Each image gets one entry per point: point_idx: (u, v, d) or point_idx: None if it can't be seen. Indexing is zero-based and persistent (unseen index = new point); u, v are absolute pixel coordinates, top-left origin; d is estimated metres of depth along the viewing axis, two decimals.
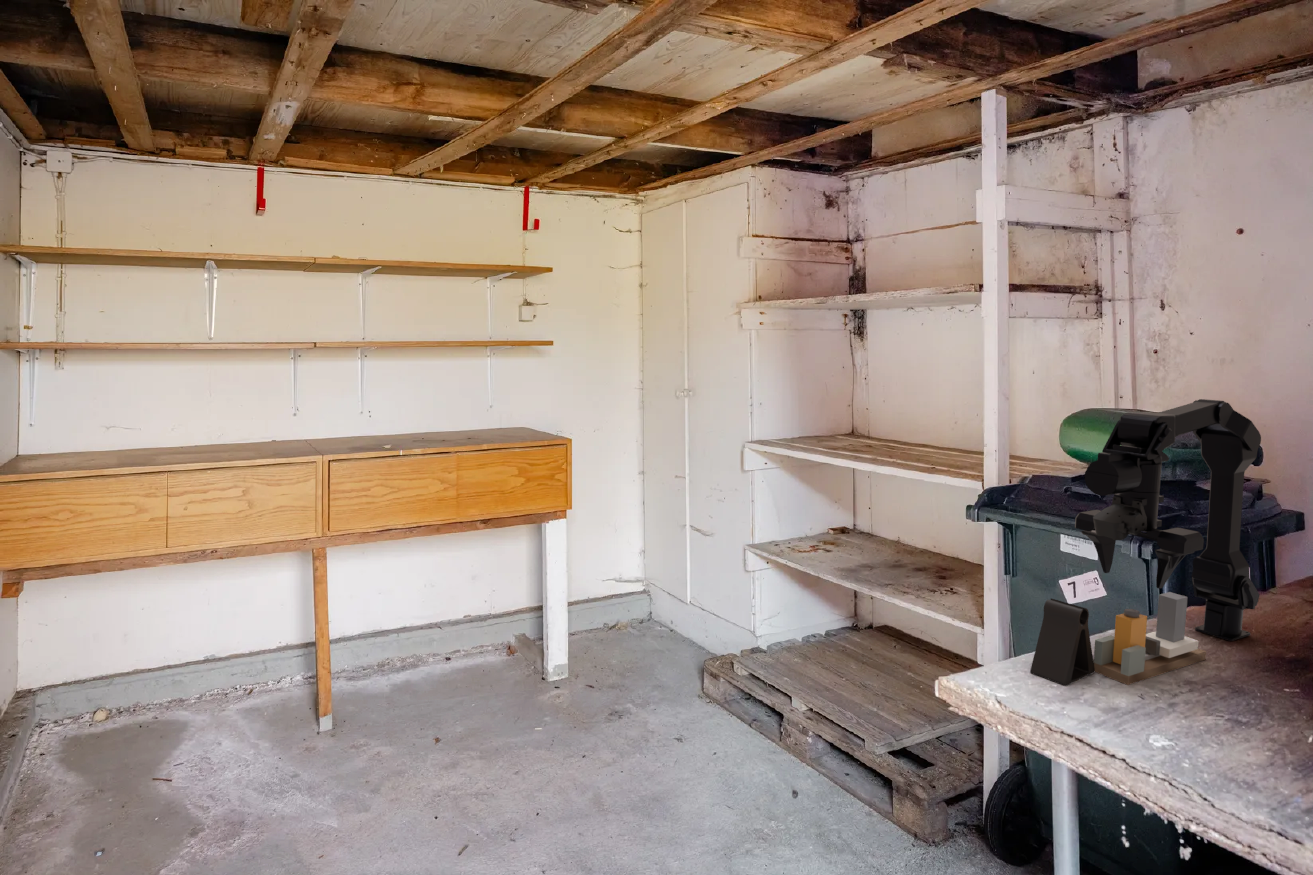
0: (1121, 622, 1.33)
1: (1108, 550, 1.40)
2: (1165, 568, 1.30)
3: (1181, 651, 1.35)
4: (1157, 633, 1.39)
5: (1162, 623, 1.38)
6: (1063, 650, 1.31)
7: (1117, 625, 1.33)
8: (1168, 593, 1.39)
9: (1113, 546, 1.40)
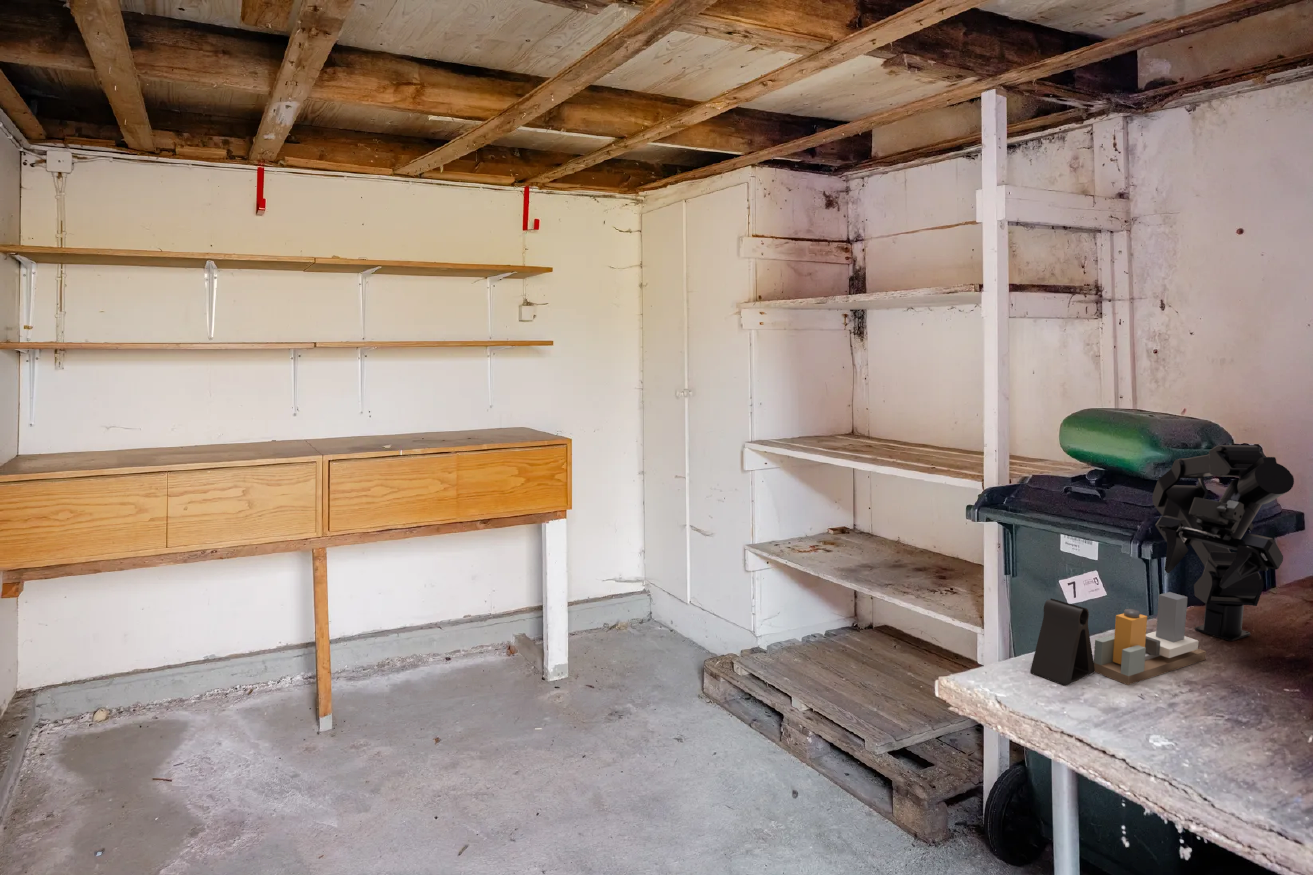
0: (1121, 622, 1.33)
1: (1177, 555, 1.45)
2: (1238, 567, 1.35)
3: (1181, 651, 1.35)
4: (1157, 633, 1.39)
5: (1162, 623, 1.38)
6: (1063, 650, 1.31)
7: (1117, 625, 1.33)
8: (1168, 593, 1.39)
9: (1181, 558, 1.46)
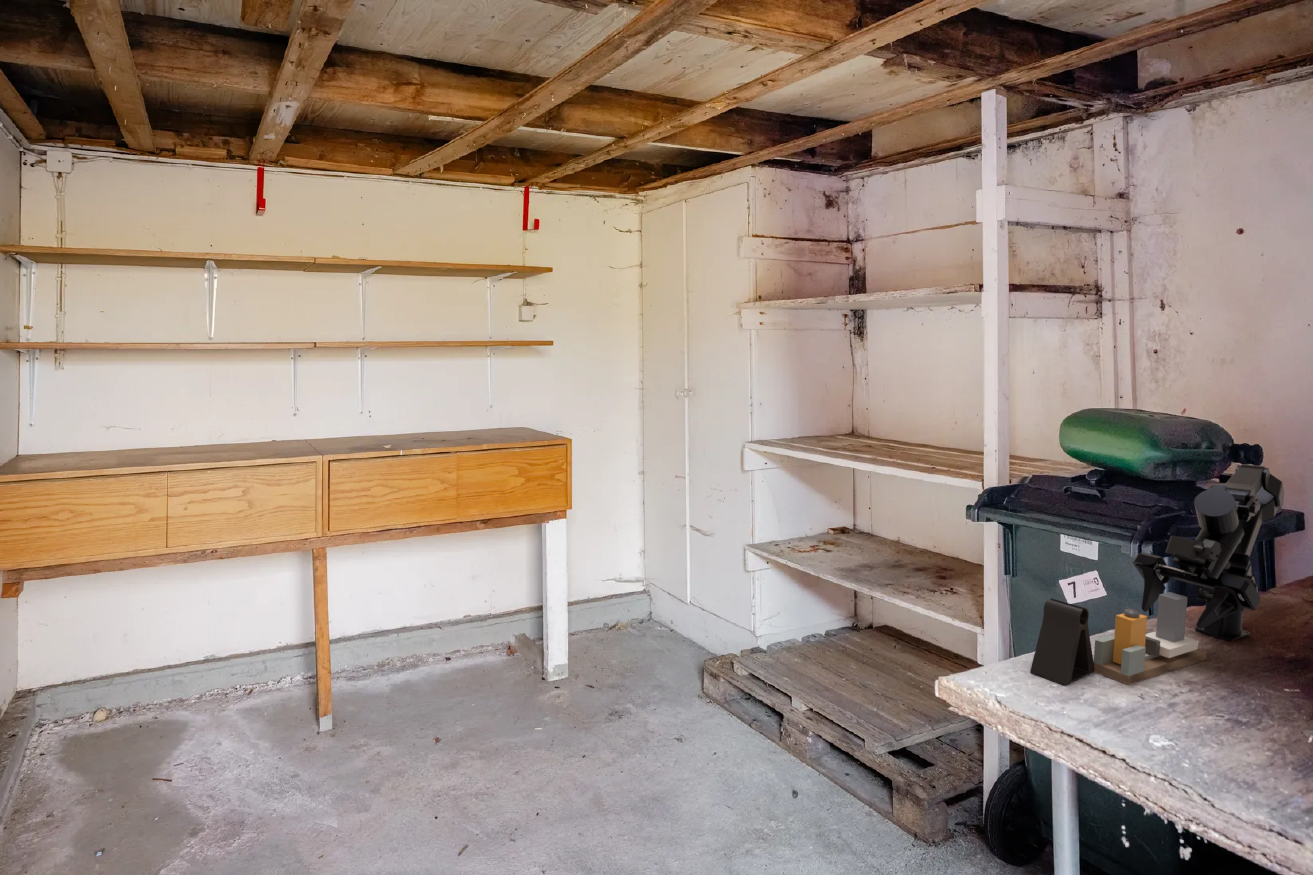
0: (1121, 622, 1.33)
1: (1154, 593, 1.43)
2: (1215, 607, 1.33)
3: (1181, 651, 1.35)
4: (1157, 633, 1.39)
5: (1162, 623, 1.38)
6: (1063, 650, 1.31)
7: (1117, 625, 1.33)
8: (1168, 593, 1.39)
9: (1158, 596, 1.44)
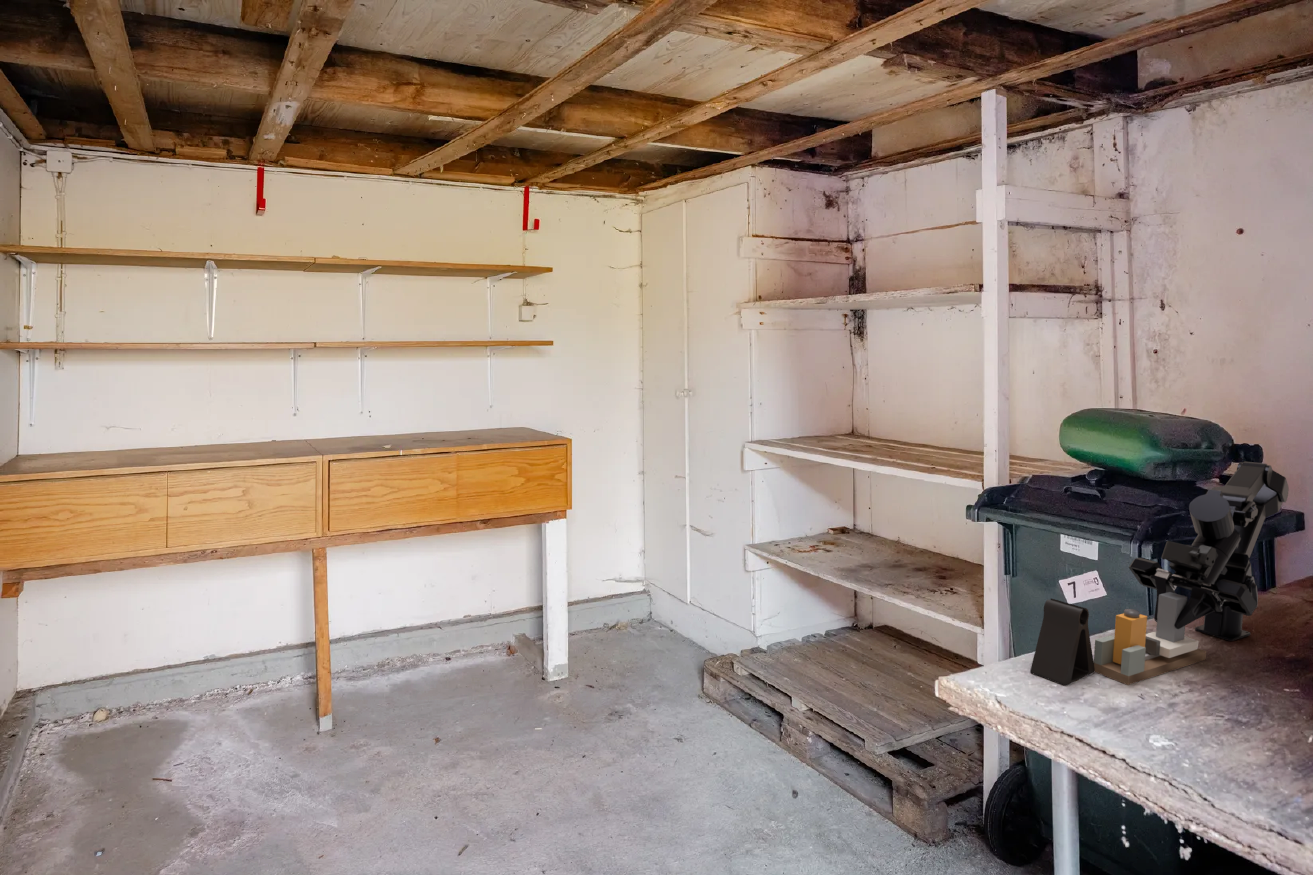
0: (1121, 622, 1.33)
1: None
2: (1192, 608, 1.35)
3: (1181, 651, 1.35)
4: (1157, 633, 1.39)
5: (1162, 623, 1.38)
6: (1063, 650, 1.31)
7: (1117, 625, 1.33)
8: (1168, 593, 1.39)
9: None
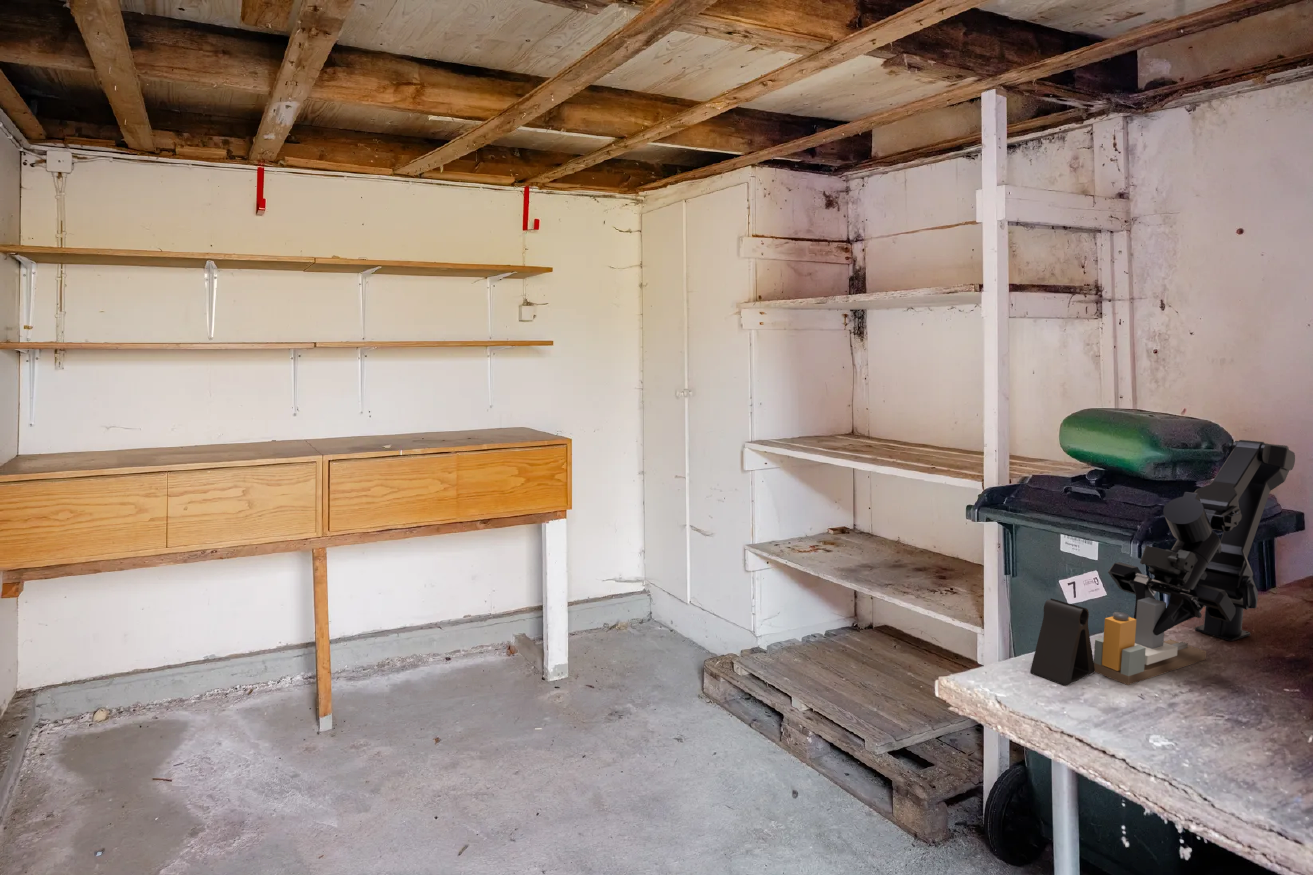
0: (1110, 625, 1.31)
1: None
2: (1171, 614, 1.33)
3: (1160, 658, 1.33)
4: (1136, 639, 1.36)
5: (1140, 629, 1.36)
6: (1063, 650, 1.31)
7: (1106, 628, 1.32)
8: (1147, 598, 1.36)
9: None
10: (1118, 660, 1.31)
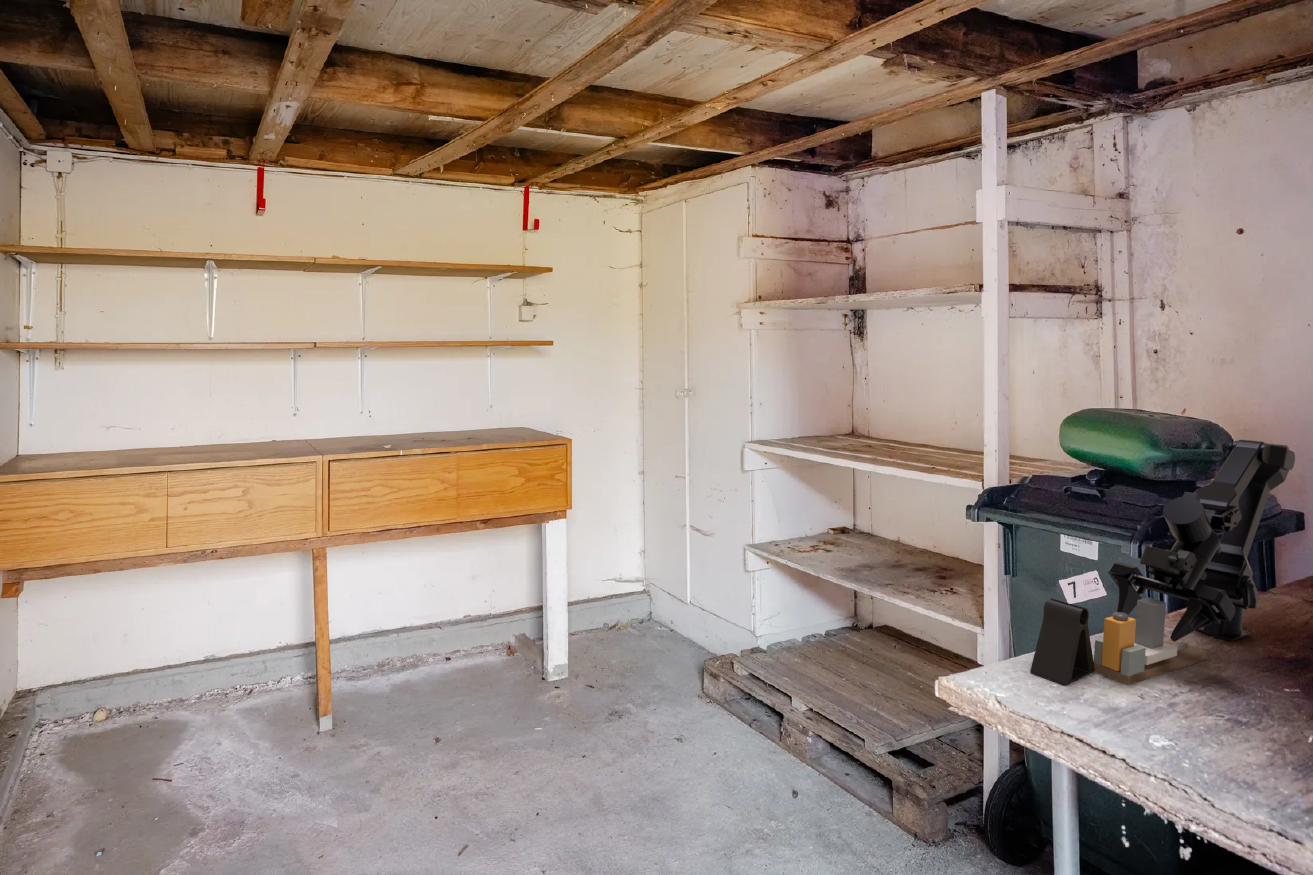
0: (1110, 625, 1.31)
1: (1129, 604, 1.40)
2: (1189, 620, 1.30)
3: (1160, 658, 1.33)
4: (1136, 639, 1.36)
5: (1140, 629, 1.36)
6: (1063, 650, 1.31)
7: (1106, 628, 1.32)
8: (1147, 598, 1.36)
9: (1133, 607, 1.41)
10: (1118, 660, 1.31)
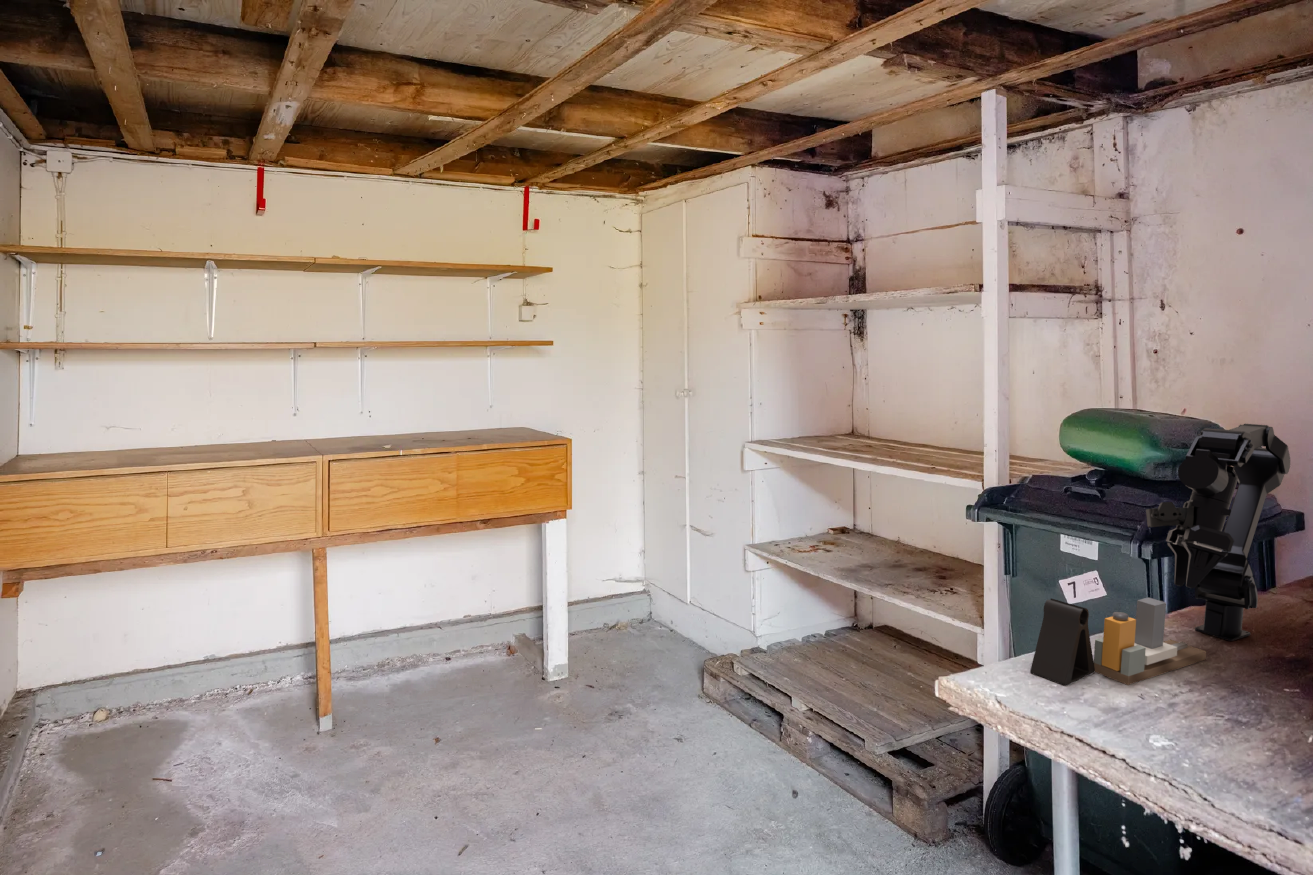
0: (1110, 625, 1.31)
1: (1186, 565, 1.43)
2: (1191, 563, 1.34)
3: (1160, 658, 1.33)
4: (1136, 639, 1.36)
5: (1140, 629, 1.36)
6: (1063, 650, 1.31)
7: (1106, 628, 1.32)
8: (1147, 598, 1.36)
9: None
10: (1118, 660, 1.31)
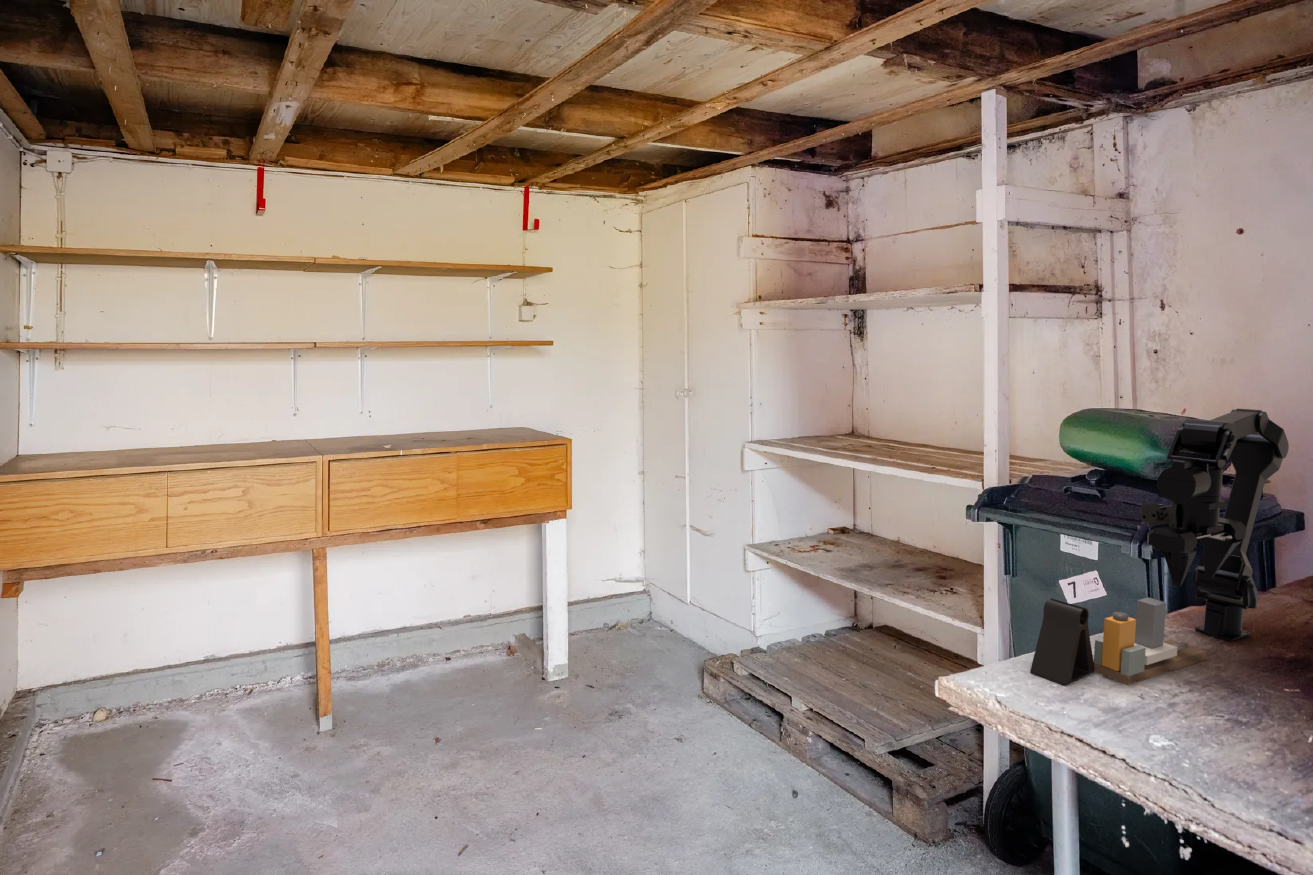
0: (1110, 625, 1.31)
1: (1212, 556, 1.41)
2: (1167, 563, 1.38)
3: (1160, 658, 1.33)
4: (1136, 639, 1.36)
5: (1140, 629, 1.36)
6: (1063, 650, 1.31)
7: (1106, 628, 1.32)
8: (1147, 598, 1.36)
9: (1222, 556, 1.40)
10: (1118, 660, 1.31)
